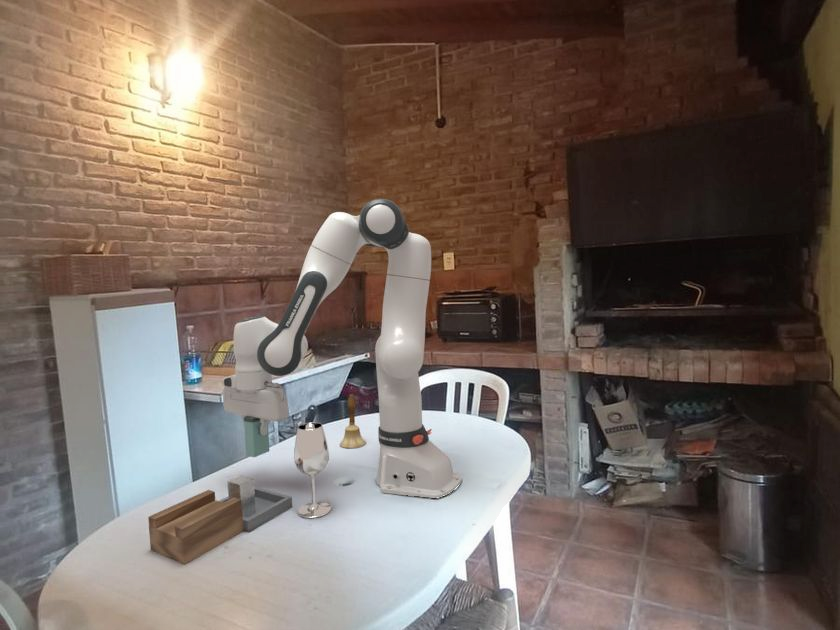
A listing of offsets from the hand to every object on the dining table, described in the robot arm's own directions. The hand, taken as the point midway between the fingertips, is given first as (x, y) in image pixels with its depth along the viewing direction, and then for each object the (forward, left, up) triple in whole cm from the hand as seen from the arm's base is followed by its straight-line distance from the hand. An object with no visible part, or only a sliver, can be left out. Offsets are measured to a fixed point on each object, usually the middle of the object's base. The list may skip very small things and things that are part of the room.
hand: (256, 433), depth 131 cm
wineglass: (-22, +4, -14) cm, 27 cm away
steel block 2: (-9, +15, -12) cm, 21 cm away
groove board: (-9, +25, -14) cm, 30 cm away
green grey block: (0, 0, -5) cm, 5 cm away
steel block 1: (-9, +13, -10) cm, 19 cm away
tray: (-9, +11, -14) cm, 20 cm away
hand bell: (-2, -36, -14) cm, 39 cm away
